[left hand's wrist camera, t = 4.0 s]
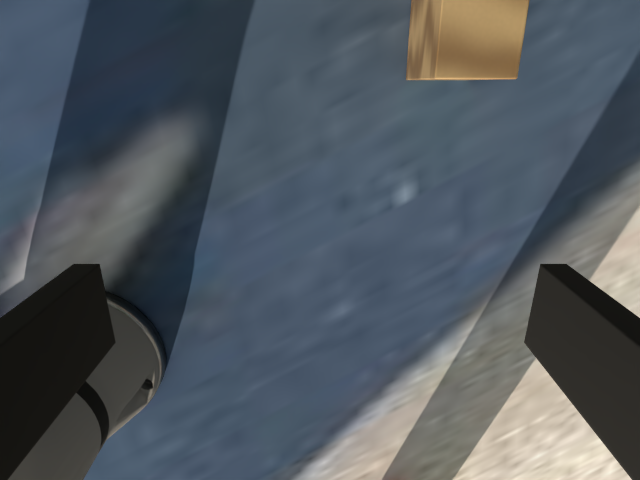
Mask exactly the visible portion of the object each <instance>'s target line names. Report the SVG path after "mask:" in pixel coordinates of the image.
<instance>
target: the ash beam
mask: <svg viewBox="0 0 640 480" xmlns="http://www.w3.org/2000/svg"><path fill="white" fill-rule="evenodd" d="M528 6H529V0H412V1H411V16H410V30H409V45H408V59H407V74H406V80H490V79H517V76H518V70H519V63H520V57H521V50H522V44H523V38H524V31H525V25H526V19H527V12H528Z"/></svg>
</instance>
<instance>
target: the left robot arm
mask: <svg viewBox="0 0 640 480" xmlns="http://www.w3.org/2000/svg"><path fill="white" fill-rule="evenodd" d="M524 343H525V344H526V345H527V347H528V348H529V349H530V350H531V352H532V353H533V354H534V355H535V357H536V358H537V359H538V361H539V362H540V363H541V364H542V366H543V367H544V368H545V369H546V371H547V372H548V373H549V375H550V376H551V377H552V378H553V380H554V381H555V382H556V383H557V385H558V386H559V387H560V389H561V390H562V391H563V392H564V394H565V395H566V396H567V397H568V399H569V400H570V401H571V403H572V404H573V405H574V406H575V408H576V409H577V410H578V411H579V413H580V414H581V415H582V417H583V418H584V419H585V420H586V422H587V423H588V424H589V425H590V427H591V428H592V429H593V431H594V432H595V433H596V434H597V436H598V437H599V438H600V439H601V441H602V442H603V443H604V445H605V446H606V447H607V448H608V450H609V451H610V452H611V453H612V455H613V456H614V457H615V459H616V460H617V461H618V462H619V464H620V465H621V466H622V467H623V469H624V470H625V471H626V472H627V474H628V475H629V476H630V478H631V479H632V480H640V318H639V317H638V316H636V315H635V314H633V313H632V312H631V311H629V310H628V309H627V308H625V307H624V306H623V305H621V304H620V303H618V302H617V301H616V300H614V299H613V298H612V297H610V296H609V295H608V294H606V293H605V292H604V291H602V290H601V289H599V288H598V287H597V286H595V285H594V284H593V283H591V282H590V281H589V280H587V279H586V278H585V277H583V276H582V275H580V274H579V273H578V272H576V271H575V270H574V269H572V268H571V267H570V266H568V265H567V264H540V269H539V274H538V279H537V283H536V288H535V293H534V298H533V303H532V308H531V312H530V317H529V322H528V327H527V332H526V337H525V341H524ZM165 368H166V354H165V349H164V345H163V342H162V340H161V338H160V335H159V334H158V332H157V330H156V328H155V327H154V326H153V324H152V323H151V322H150V321H149V319H148V318H147V317H146V316H145V315H144V314H143V313H142V312H141V311H139V310H138V309H137V308H136V307H134V306H133V305H132V304H130V303H129V302H127V301H125V300H123V299H122V298H120V297H118V296H115V295H113V294H111V293H108V292H105V288H104V283H103V279H102V274H101V269H100V264H73V265H72V266H70V267H69V268H68V269H66V270H65V271H64V272H62V273H61V274H60V275H58V276H57V277H55V278H54V279H53V280H51V281H50V282H49V283H47V284H46V285H45V286H43V287H42V288H41V289H39V290H38V291H36V292H35V293H34V294H32V295H31V296H30V297H28V298H27V299H26V300H24V301H23V302H22V303H20V304H19V305H17V306H16V307H15V308H13V309H12V310H11V311H9V312H8V313H7V314H5V315H4V316H2V317H1V318H0V480H83V479H84V477H85V475H86V474H87V472H88V470H89V468H90V467H91V465H92V463H93V462H94V460H95V458H96V456H97V454H98V453H99V451H100V449H101V448H102V446H103V444H104V443H105V441H106V440H107V439H108V438H109V437H110V436H112V435H113V434H114V433H115V432H116V431H117V430H119V429H120V428H121V427H122V426H123V425H125V424H126V423H127V422H128V421H129V420H130V419H132V418H133V417H134V416H135V415H136V414H137V413H139V412H140V411H141V410H142V409H143V408H144V407H145V406H146V405H147V404H148V403H149V402H150V401H151V399H152V398H153V396H154V395H155V393H156V391H157V389H158V387H159V385H160V383H161V381H162V379H163V377H164V373H165Z"/></svg>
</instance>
